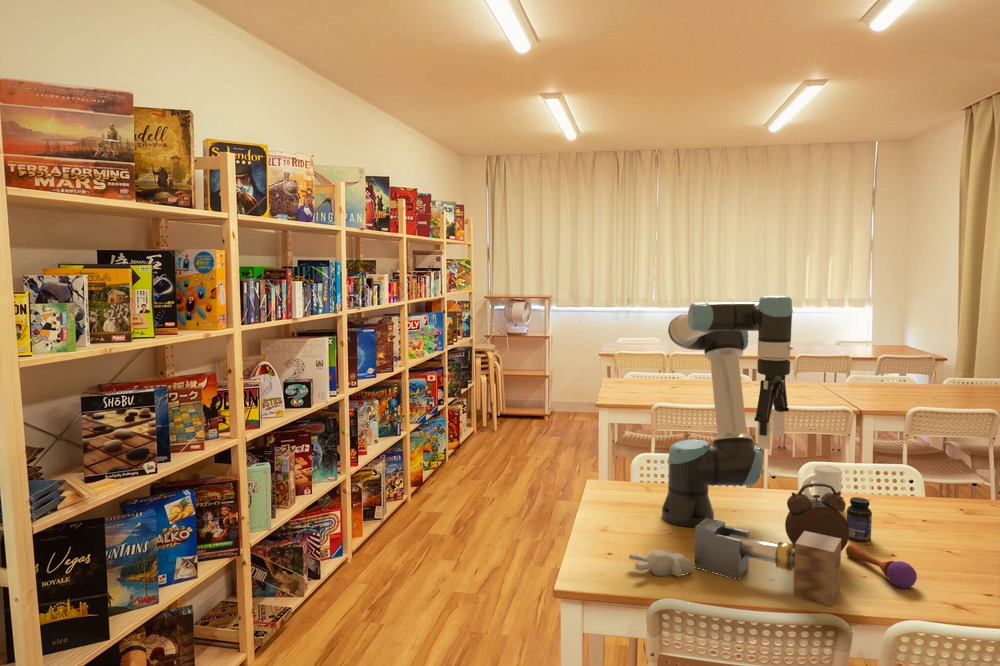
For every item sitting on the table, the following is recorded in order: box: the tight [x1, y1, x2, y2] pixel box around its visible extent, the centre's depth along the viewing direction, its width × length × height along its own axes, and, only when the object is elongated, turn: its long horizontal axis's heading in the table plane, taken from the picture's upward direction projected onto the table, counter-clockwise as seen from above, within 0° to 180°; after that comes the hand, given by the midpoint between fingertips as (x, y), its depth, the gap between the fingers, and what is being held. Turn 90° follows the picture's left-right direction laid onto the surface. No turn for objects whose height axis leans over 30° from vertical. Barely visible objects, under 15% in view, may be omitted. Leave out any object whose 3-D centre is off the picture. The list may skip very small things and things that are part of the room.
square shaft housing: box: [694, 518, 750, 580], centre depth 165 cm, size 11×8×11 cm
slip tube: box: [729, 534, 795, 571], centre depth 158 cm, size 19×6×6 cm, turn 53°
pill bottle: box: [846, 496, 873, 543], centre depth 183 cm, size 6×6×11 cm
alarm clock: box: [784, 482, 850, 552], centre depth 170 cm, size 14×7×20 cm, turn 86°
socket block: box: [792, 531, 842, 608], centre depth 152 cm, size 8×9×13 cm
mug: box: [801, 464, 843, 501], centre depth 209 cm, size 8×12×12 cm
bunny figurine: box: [628, 549, 695, 577], centre depth 164 cm, size 10×5×15 cm
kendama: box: [845, 543, 918, 589], centre depth 163 cm, size 6×6×20 cm
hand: (771, 442), depth 165 cm, fingers open, 13 cm apart
